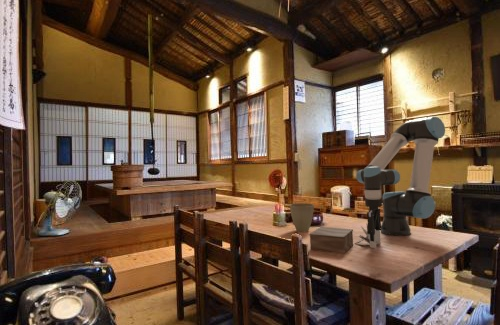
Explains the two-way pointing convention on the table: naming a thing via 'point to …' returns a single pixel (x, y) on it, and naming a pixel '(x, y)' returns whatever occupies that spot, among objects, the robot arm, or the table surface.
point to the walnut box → (331, 240)
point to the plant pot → (302, 216)
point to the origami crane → (364, 237)
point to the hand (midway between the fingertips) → (375, 245)
